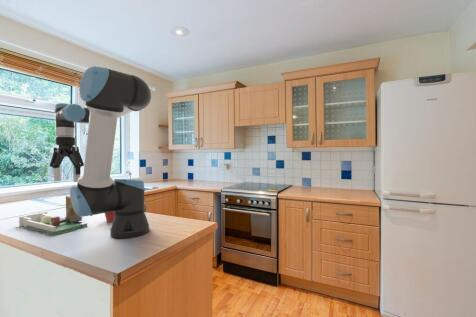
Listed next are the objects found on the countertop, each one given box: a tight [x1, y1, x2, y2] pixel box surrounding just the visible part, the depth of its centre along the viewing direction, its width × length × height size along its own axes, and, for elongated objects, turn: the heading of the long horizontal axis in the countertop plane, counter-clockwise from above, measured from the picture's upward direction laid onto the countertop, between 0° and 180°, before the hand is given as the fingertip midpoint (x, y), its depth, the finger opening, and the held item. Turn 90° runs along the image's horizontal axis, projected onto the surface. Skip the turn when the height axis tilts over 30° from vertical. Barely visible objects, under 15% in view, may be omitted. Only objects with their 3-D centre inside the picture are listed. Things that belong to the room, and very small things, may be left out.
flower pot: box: [104, 211, 115, 223], centre depth 121 cm, size 11×11×10 cm
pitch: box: [18, 211, 82, 236], centre depth 110 cm, size 30×11×4 cm, turn 63°
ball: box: [41, 214, 52, 224], centre depth 110 cm, size 4×4×4 cm
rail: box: [60, 217, 88, 229], centre depth 115 cm, size 24×2×2 cm, turn 63°
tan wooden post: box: [51, 195, 83, 226], centre depth 111 cm, size 6×11×12 cm, turn 153°
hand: (66, 181), depth 113 cm, fingers open, 13 cm apart
